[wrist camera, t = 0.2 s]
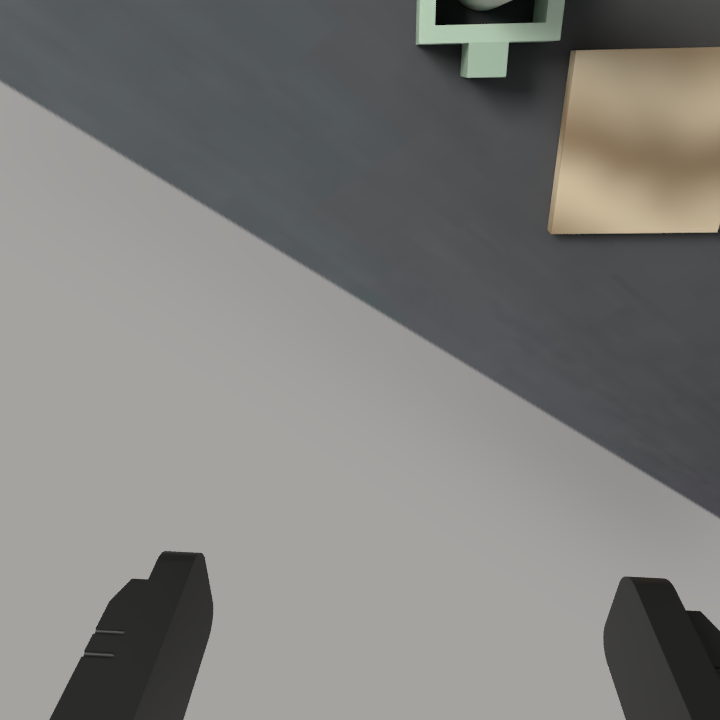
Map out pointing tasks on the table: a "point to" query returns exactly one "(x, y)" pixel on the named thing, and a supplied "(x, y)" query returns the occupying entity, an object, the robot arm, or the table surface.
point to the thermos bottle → (483, 4)
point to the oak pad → (639, 143)
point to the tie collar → (489, 36)
